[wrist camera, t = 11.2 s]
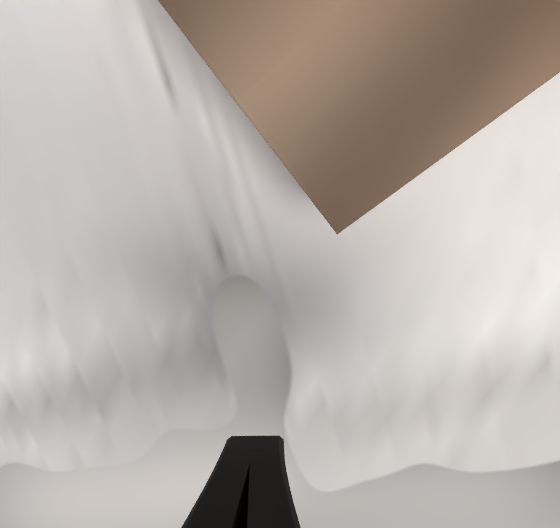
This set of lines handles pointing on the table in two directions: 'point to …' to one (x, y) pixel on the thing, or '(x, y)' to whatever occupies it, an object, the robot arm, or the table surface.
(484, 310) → the table surface
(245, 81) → the socket block
